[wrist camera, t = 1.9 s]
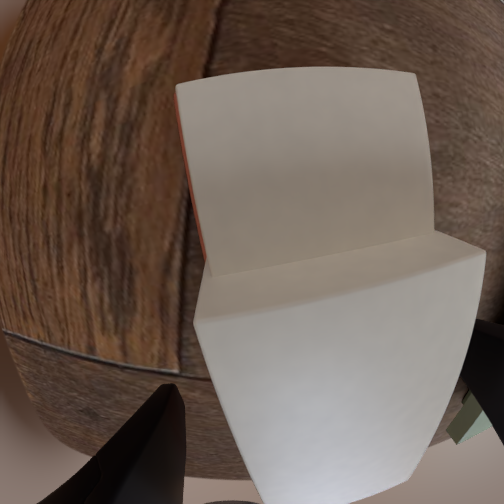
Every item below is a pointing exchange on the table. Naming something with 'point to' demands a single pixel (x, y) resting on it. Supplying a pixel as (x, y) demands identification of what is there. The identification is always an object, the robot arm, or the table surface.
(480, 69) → the table surface
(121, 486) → the robot arm
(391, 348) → the stepped block on base
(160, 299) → the table surface
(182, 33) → the table surface
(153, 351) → the table surface
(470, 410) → the flat pale green board
